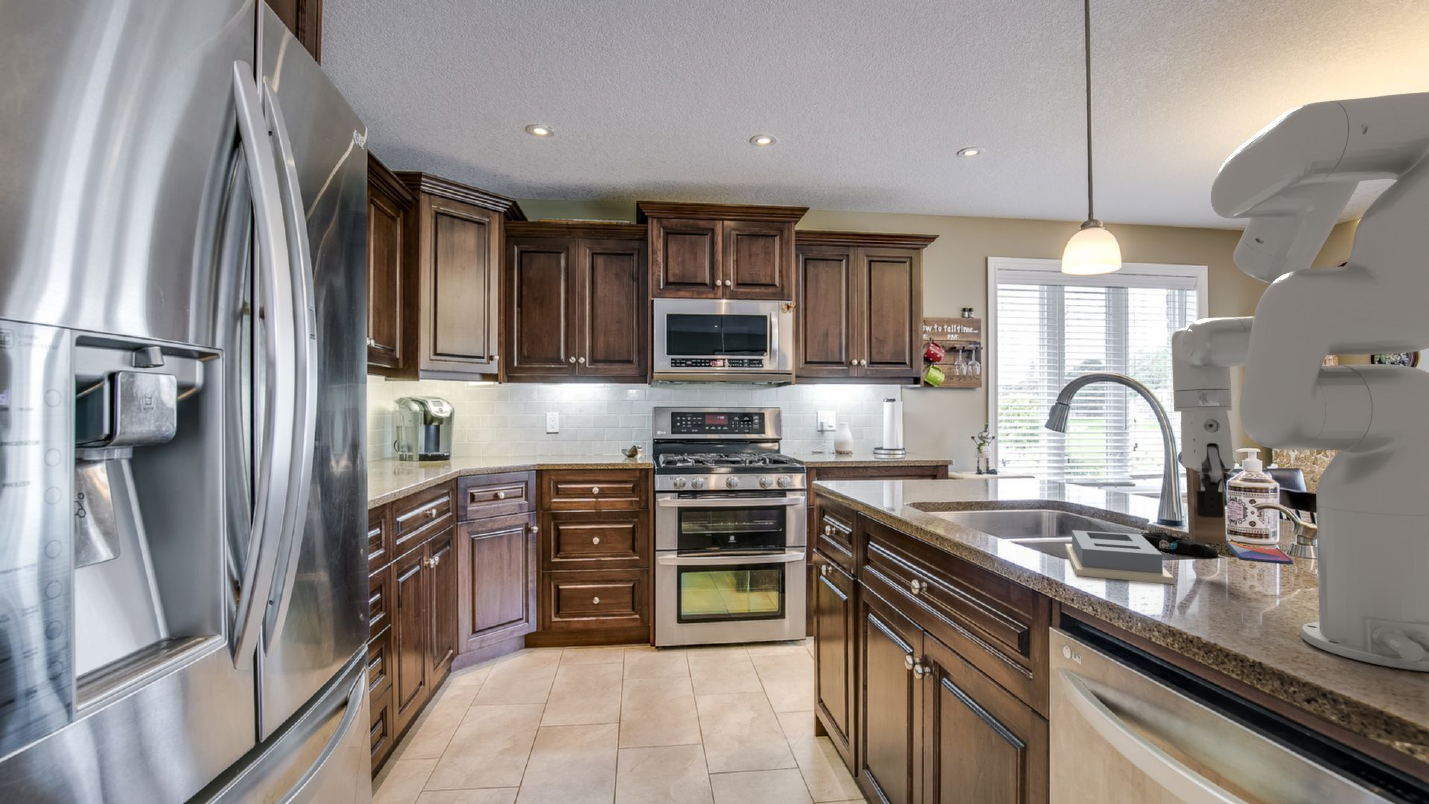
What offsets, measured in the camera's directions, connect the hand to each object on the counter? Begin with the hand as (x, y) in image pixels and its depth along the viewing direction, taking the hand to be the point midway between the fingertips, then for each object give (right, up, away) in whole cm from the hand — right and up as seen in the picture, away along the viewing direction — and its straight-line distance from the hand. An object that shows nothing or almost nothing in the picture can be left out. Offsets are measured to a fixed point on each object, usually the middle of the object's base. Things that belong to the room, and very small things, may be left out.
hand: (1206, 513), depth 103 cm
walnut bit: (0, -4, 0) cm, 4 cm away
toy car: (+8, -11, +18) cm, 22 cm away
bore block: (-10, -10, +8) cm, 16 cm away
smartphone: (+21, -11, +15) cm, 28 cm away
